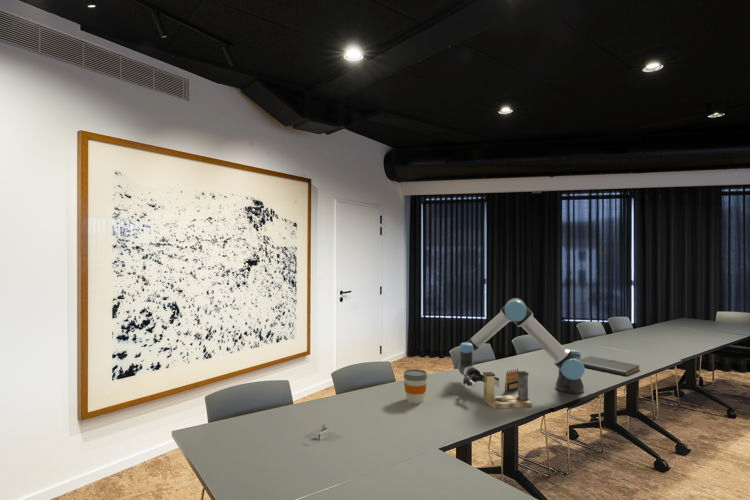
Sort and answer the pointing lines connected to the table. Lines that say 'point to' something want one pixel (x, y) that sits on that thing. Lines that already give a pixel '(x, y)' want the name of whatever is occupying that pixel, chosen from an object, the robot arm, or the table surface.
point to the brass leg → (489, 386)
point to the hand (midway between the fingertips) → (487, 385)
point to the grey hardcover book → (609, 366)
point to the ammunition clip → (511, 380)
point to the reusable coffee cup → (415, 385)
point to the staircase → (322, 432)
